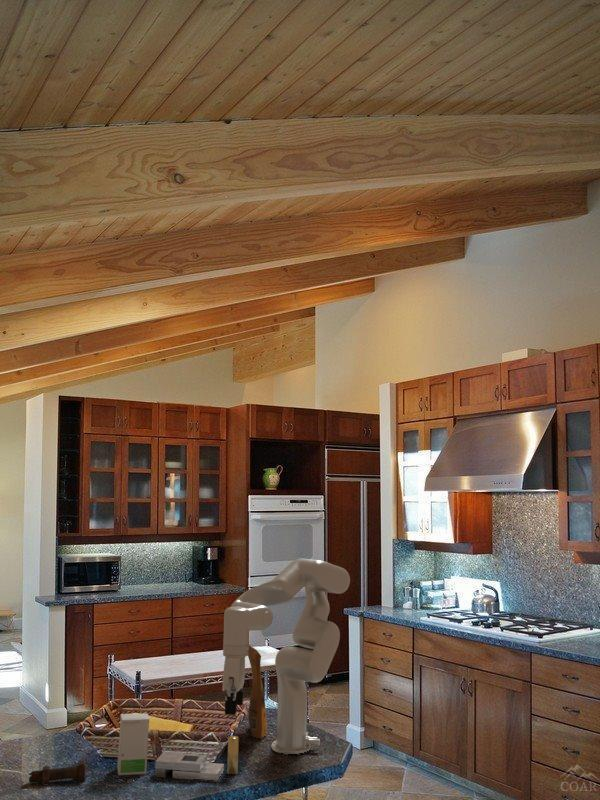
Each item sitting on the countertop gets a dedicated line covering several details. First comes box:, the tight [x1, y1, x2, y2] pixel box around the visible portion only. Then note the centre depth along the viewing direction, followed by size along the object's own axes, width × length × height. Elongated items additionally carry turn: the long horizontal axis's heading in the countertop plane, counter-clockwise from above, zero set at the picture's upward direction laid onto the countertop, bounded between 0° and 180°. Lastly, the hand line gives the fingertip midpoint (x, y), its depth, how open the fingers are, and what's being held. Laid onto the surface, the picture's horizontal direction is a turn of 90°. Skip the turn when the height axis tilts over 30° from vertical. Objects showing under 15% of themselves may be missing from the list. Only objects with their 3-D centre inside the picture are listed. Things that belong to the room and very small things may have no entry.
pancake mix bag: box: [247, 644, 268, 740], centre depth 275 cm, size 7×19×28 cm, turn 9°
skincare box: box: [116, 712, 150, 776], centre depth 236 cm, size 8×7×16 cm
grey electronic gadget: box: [154, 751, 225, 782], centre depth 235 cm, size 18×8×4 cm, turn 83°
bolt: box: [28, 760, 86, 786], centre depth 226 cm, size 6×5×15 cm
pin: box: [226, 735, 240, 776], centre depth 236 cm, size 3×3×10 cm
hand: (233, 709), depth 237 cm, fingers open, 9 cm apart
